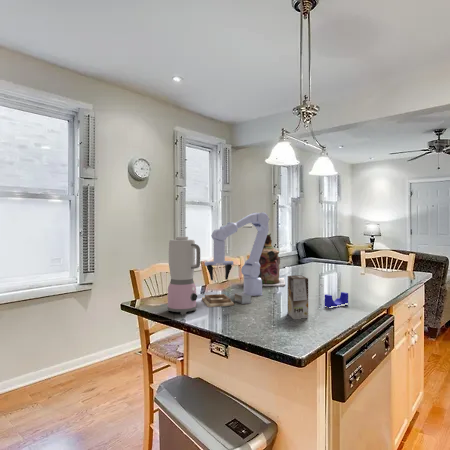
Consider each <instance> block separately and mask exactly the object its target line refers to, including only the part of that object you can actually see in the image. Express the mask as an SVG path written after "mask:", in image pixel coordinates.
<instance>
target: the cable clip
mask: <svg viewBox="0 0 450 450" xmlns="http://www.w3.org/2000/svg"><path fill="white" fill-rule="evenodd" d="M345 303H348V304H349V292H344V291H341V292H340V296H339V298H338V297H337V298H336V299H335V300H333V295H332V294H327V293H326V294H324V307H325V306H327V307H331V306H337V305H341V304H345Z"/></svg>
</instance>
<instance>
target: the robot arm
mask: <svg viewBox="0 0 450 450" xmlns="http://www.w3.org/2000/svg"><path fill="white" fill-rule="evenodd" d="M269 221H270V218H269V215H268V214H267V213H266V212H265V211H262V212H252V213H250V214H248V215H246V216H244V217H243V218H240V219H239V220H237V221H236V222H233V221H232V222H230V221H228V222H227V223H226V224H225V225H223V226H219V228H216V229H214V230H213V231H212V233H211V238H212V240H213V260H211V261H204V267H206V269H207V271H208V273H209V278H210V281H214V276H213V275H214V274H213V273H214V267H213V266H215V267H216V266H224V269H225V270H224V271H225V273H224V274H225V276H224V277H225V278H224V279H225V280H227V281H228V280H229V276H230V275H229V274H230V272H231V271H232V270H231V269H233V268H232V267H233V266H234V261H233V260H226V258H225V257H226V256H225V255H226V251H225V249H226V246H225V245H226V241H225V240H226V239H227V238H228V237H230V236H232V235H233V234H235V233H237V232H238V229H240V228H241V227H245V226H246V225H247V224H252V225H253V227H255V229H256V230H257V233H256V236H255V239H254V242H253V244H252V248H251V251H250V254H249V257H248V258H247V259H246V260H245V262H244V265H242V267H241V270H240V271H241V274H242V275H243V276H242V277H243V292H240V293H246V294H249V295H251V297H253V296H254V297H257V296H263V295H264V294H263V286H262V280H261V278H258V276H259V274H260V263H259V259H260V256H261V253H262V250H263V247H264V244H265V240H266V237H267V235H269V230H270V229H269V228H270V227H269Z"/></svg>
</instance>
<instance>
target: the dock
mask: <svg viewBox="0 0 450 450" xmlns="http://www.w3.org/2000/svg"><path fill="white" fill-rule="evenodd" d="M201 300H202V301H203V302H204V304H205V305H206V306H207V307H208V308H213V307H214V308H215V307H227V306H229V307H230V306H235V302H233V301H232V299H231V298H230V297H229V296H228V295H227V294H225V293H219V294H217V293H216V294H205V295H204V296H202V297H201Z"/></svg>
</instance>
